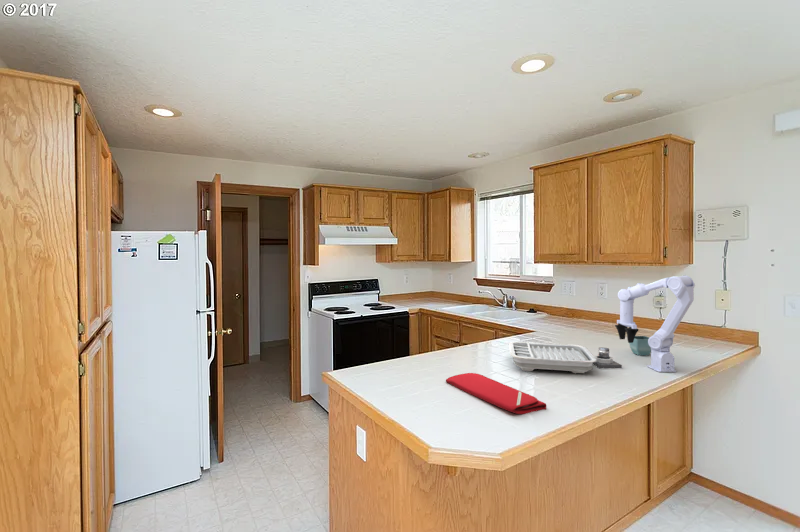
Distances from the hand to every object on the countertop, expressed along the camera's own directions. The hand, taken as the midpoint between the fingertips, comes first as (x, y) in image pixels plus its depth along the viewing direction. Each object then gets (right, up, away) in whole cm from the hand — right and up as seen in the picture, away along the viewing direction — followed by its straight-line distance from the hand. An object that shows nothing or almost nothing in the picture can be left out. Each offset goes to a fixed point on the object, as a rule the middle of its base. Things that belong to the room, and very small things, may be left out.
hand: (626, 340), depth 203 cm
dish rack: (-40, -11, -7) cm, 42 cm away
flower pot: (+14, -10, +12) cm, 21 cm away
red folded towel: (-76, -13, -44) cm, 89 cm away
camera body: (-14, -10, -5) cm, 18 cm away
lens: (-14, -9, -5) cm, 17 cm away
